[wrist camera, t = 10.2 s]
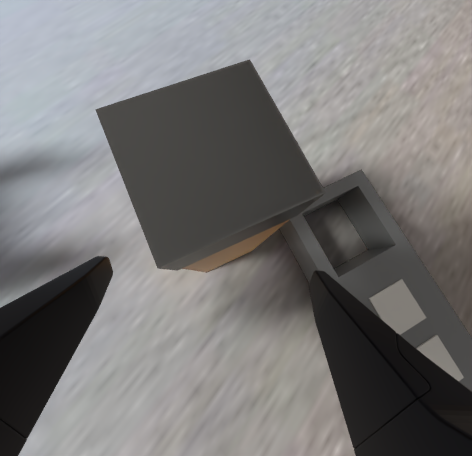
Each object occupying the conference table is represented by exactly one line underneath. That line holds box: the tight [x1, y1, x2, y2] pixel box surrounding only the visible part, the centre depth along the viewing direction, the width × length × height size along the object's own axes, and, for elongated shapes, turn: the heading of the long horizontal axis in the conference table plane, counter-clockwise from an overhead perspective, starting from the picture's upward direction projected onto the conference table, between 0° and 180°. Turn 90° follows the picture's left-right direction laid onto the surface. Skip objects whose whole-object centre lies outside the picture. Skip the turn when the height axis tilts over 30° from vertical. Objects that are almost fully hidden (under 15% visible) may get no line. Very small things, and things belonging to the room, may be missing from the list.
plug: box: [96, 60, 326, 272], centre depth 11 cm, size 4×4×13 cm
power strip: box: [279, 169, 472, 391], centre depth 15 cm, size 24×7×3 cm, turn 27°
